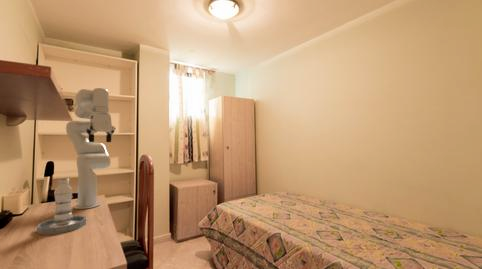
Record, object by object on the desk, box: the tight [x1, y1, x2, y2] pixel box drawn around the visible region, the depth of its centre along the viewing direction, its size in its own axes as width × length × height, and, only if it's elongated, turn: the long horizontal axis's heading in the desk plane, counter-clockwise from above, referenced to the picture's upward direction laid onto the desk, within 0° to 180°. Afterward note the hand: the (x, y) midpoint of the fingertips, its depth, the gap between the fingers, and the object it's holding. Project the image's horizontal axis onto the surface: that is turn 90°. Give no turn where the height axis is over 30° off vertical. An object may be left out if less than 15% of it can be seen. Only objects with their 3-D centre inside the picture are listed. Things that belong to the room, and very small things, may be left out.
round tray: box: [36, 215, 87, 236], centre depth 102 cm, size 17×17×2 cm
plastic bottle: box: [53, 178, 74, 225], centre depth 103 cm, size 6×7×20 cm
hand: (100, 142), depth 126 cm, fingers open, 9 cm apart
